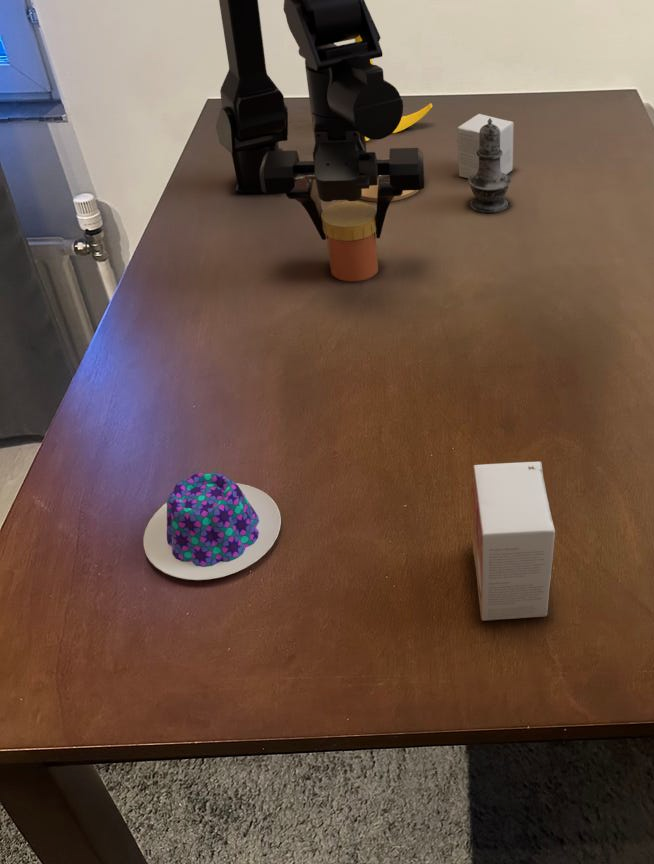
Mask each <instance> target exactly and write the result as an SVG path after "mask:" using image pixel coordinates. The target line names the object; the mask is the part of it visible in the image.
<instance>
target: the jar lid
mask: <svg viewBox="0 0 654 864" xmlns="http://www.w3.org/2000/svg"><path fill="white" fill-rule="evenodd" d="M376 211H377V209H375V207H374V206H373V205H371V204H369V203H367V202H363V201H358V200H356V201H348V200H343V201H339V202H335V203H332V204H330V205H328V206H326V207H325V208H324V209H322V213H321V221H322V226H323V232H324V233H325V234H326V235H327V236H328V237H330V238H333V239H336V240H342V241H353V240H359V239H363V238H366V237H368V236H370V235H372V234H373V233H374V232H375V233H376Z"/></svg>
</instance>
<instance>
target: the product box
mask: <svg viewBox="0 0 654 864" xmlns="http://www.w3.org/2000/svg"><path fill="white" fill-rule="evenodd" d="M489 118H491V120H492V124H493V125H496V126H497V127H498V128H499V129H500V150H502V152H503V154H502V156H501V157H500V168H501V172H502V173H504V174H506V175H508V174H509V173H511V172H513V169H514V122H513V121H511V120H508V119H507V120H506V119H502V118H498V117H495V116H489V115H486V114H482V113H478V114H476V115H474V116H473V117H471V118H470V119H468V120H467V121H465V122H464V123H462V124H461V125H459V126H458V127H457V128H456V130H457V131H456V132H457V157H458V158H457V159H458V160H457V162H458V177H461V178H465V179H469V177H470V176H471V175H473V174H475V173H477V172H478V168H479V156H478V155H477V151H478V150H479V132H480V129H481V127H482V126H484V125H486V124H488V122H487V121H488V119H489Z"/></svg>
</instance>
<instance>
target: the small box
mask: <svg viewBox="0 0 654 864" xmlns="http://www.w3.org/2000/svg"><path fill="white" fill-rule="evenodd" d="M555 536H556V529H555V525H554V522H553V518H552V513H551V510H550V504H549V499H548V494H547V489H546V484H545V479H544V473H543V465H542V461H523V462H522V461H519V462H501V463H486V464H485V463H484V464H474V465H473V466H472V553H473V559H474V567H475V574H476V582H477V584H476V585H477V594H478V604H479V611H480V613H479V614H480V619H481V621H483V622H484V621H497V620H512V619H528V618H544V617H545V618H546V617H547V616H548V609H549V599H550V597H549V596H550V587H551V580H552V579H551V576H552V570H553V569H552V568H553V558H554V549H555V548H554V547H555V540H556V539H555Z"/></svg>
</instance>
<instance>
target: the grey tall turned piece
mask: <svg viewBox="0 0 654 864" xmlns="http://www.w3.org/2000/svg"><path fill="white" fill-rule="evenodd" d="M487 122H488V124H486V125H484V126H482V127H481V129H480V132H479V150H478V151H477V155H478V156H479V168H478V172H477V173H475V174H473V175H471V176H470V177H469V178H467V181H468V185H470V191H471V192H472V194H473V195H474V198H473V199H472V200H471V201H470V207H471V208H472V209H473V210H474V211H476V212H479V213H482V214H497V213H500V212H503V211H505V210H506V209H507V208H508V206H509V203H508V201H507V200H506V199H505V198H504V196H506V193H507V191H508V189H509V186H510V184H511V182H512V181H511V180H512V179H511V178H510V176H509V175H508V174H504V173H502V172H501V168H500V157H501V156H502V154H503V152H502V150H500V129H499V128H498V127H497V126H496V125H493V124H492V120H491V118H489V119H488V121H487Z"/></svg>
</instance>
